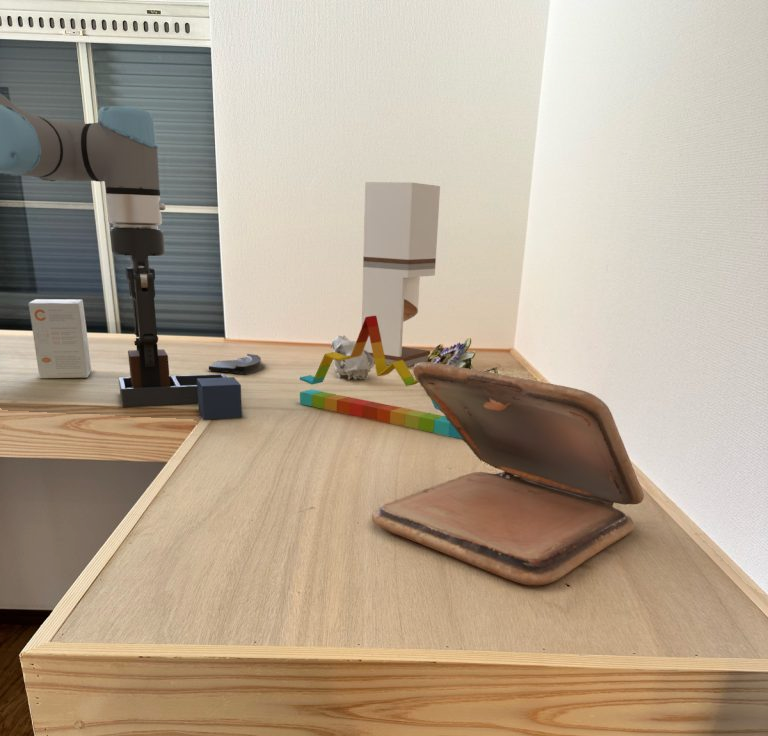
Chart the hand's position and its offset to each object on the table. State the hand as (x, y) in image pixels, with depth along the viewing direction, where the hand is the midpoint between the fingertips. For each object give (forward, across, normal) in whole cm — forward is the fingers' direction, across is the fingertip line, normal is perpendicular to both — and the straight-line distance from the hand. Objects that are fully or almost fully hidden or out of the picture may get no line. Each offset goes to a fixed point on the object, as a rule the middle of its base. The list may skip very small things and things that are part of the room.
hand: (149, 382), depth 116 cm
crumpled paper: (+3, +12, -38) cm, 40 cm away
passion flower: (+3, -8, -51) cm, 52 cm away
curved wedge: (+3, +23, -19) cm, 30 cm away
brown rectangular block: (0, 0, 0) cm, 0 cm away
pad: (+3, -12, -9) cm, 15 cm away
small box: (+3, +22, +13) cm, 26 cm away
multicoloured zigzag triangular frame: (+3, -20, -32) cm, 38 cm away
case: (+3, -63, -29) cm, 69 cm away
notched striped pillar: (+3, +26, -53) cm, 59 cm away
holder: (+3, 0, -4) cm, 5 cm away
